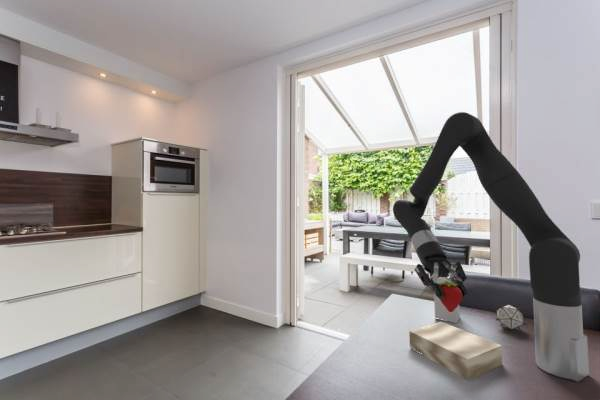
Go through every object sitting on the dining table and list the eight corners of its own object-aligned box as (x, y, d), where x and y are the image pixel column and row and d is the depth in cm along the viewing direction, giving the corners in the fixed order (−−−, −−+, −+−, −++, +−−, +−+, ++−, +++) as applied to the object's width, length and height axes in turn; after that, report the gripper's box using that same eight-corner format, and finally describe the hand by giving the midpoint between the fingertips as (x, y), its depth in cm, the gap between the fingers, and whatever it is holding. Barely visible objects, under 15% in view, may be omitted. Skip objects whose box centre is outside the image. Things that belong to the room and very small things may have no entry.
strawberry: (449, 318, 76) (447, 280, 76) (432, 308, 83) (430, 274, 84) (469, 316, 77) (467, 279, 77) (450, 306, 84) (449, 272, 84)
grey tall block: (456, 323, 101) (454, 269, 101) (434, 319, 105) (433, 267, 106) (459, 317, 107) (457, 266, 107) (439, 313, 111) (437, 264, 111)
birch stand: (502, 364, 75) (501, 345, 75) (468, 380, 69) (467, 359, 69) (441, 337, 91) (441, 321, 91) (409, 347, 85) (409, 331, 85)
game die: (518, 341, 95) (539, 323, 90) (493, 332, 95) (513, 314, 90) (506, 319, 102) (525, 301, 97) (484, 310, 103) (501, 292, 97)
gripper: (409, 241, 87) (434, 292, 75) (453, 239, 89) (484, 288, 77) (402, 255, 92) (424, 305, 80) (443, 253, 94) (471, 301, 82)
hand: (453, 296), depth 78 cm, fingers closed on strawberry, 6 cm apart
